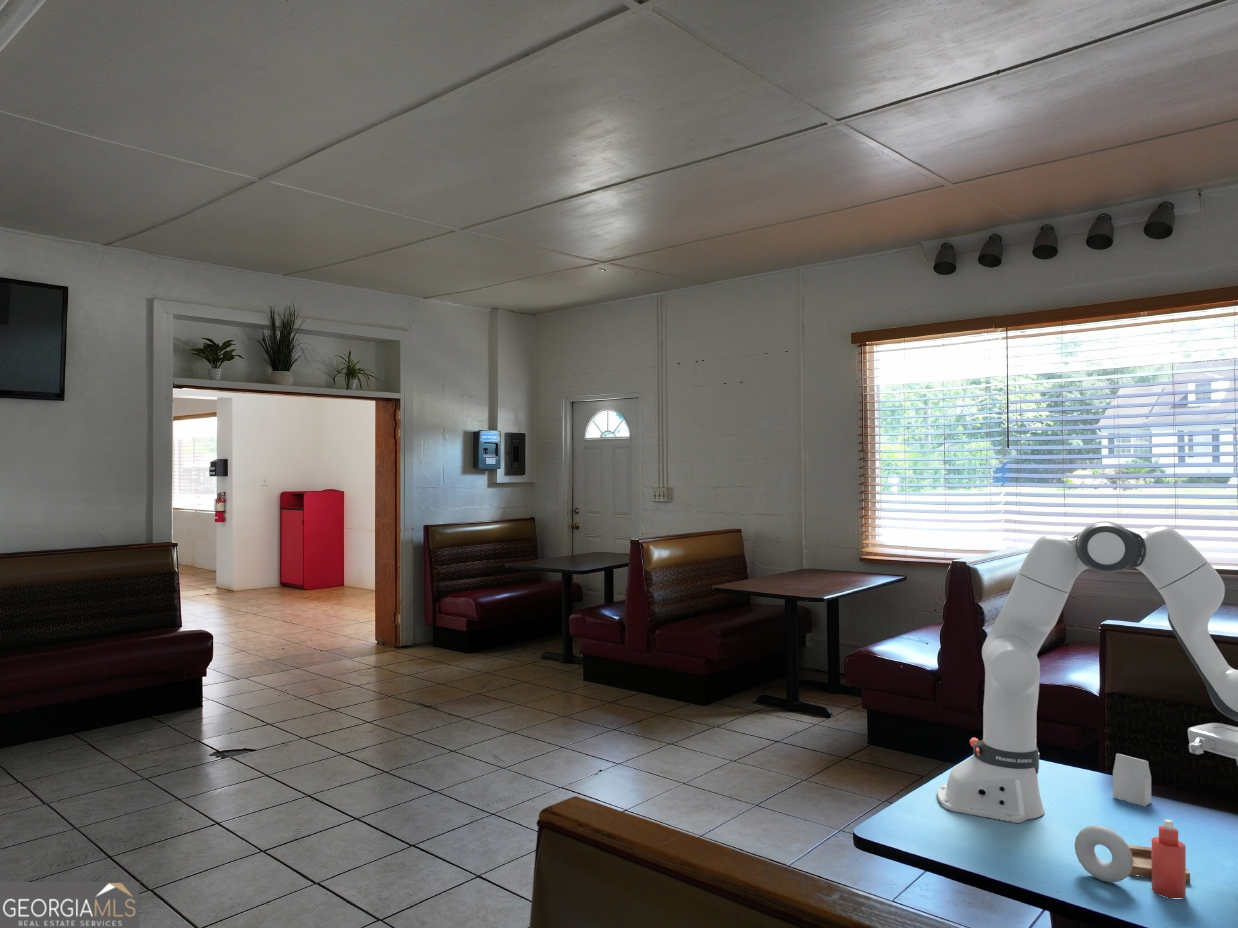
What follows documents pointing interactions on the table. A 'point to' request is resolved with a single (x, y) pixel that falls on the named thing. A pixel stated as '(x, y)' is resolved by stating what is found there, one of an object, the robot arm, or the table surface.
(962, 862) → the table surface
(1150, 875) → the condiment tray
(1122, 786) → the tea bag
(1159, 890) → the ketchup bottle
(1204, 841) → the table surface
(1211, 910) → the table surface
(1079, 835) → the donut
